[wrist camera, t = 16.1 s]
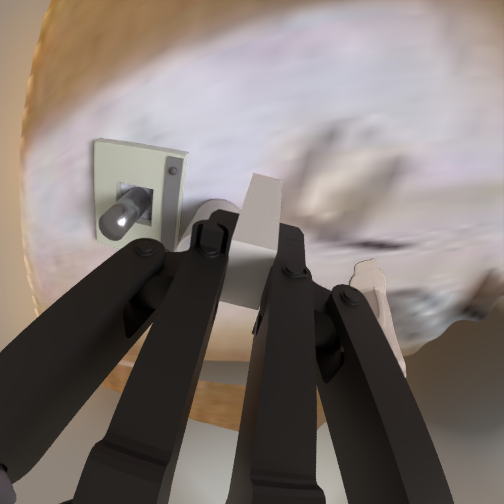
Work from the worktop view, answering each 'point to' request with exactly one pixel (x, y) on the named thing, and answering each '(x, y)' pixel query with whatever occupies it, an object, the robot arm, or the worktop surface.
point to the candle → (377, 301)
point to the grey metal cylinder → (124, 213)
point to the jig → (144, 175)
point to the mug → (205, 218)
